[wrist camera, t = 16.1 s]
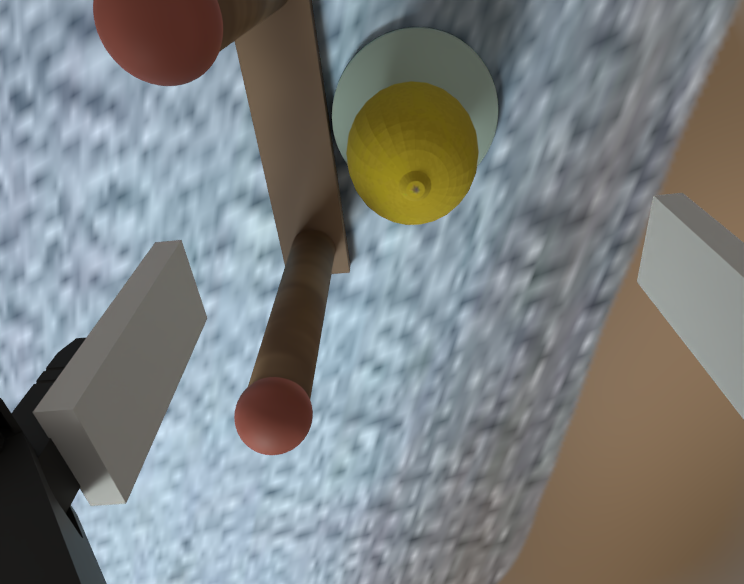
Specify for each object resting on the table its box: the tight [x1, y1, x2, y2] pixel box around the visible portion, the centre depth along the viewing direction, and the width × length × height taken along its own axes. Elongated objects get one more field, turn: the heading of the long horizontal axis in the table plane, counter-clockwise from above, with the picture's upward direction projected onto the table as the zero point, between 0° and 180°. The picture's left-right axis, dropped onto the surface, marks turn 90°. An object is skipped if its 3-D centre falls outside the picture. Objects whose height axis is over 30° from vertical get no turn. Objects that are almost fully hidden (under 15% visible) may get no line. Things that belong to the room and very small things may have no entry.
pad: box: [332, 27, 498, 166], centre depth 26 cm, size 8×8×1 cm
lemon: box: [346, 81, 479, 225], centre depth 23 cm, size 6×6×8 cm
